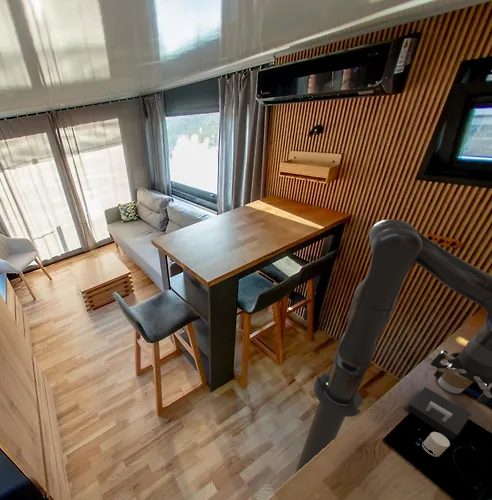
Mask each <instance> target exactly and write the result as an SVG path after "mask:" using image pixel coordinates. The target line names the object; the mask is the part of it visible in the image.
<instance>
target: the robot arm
mask: <svg viewBox="0 0 492 500" xmlns="http://www.w3.org/2000/svg"><path fill="white" fill-rule="evenodd" d="M368 240H369V245H370V248H371V252H372V253H371V259H370V265H369V270H368V272H367V275H366V276H365V278H364V279H363V280H362V281H361V282H360V283H359V284H358V285H357V287H356V288H355V290H354V292H353V296H352V299H351V302H350V307H349V311H348V317H347V321H346V322H347V323H346V329H345V332H343V333H342V335H341V338H340V339H339V341H338V343H337V346H336V352H335V354H334V357H333V360H332V362H331V366H330V369H329V371H328V373H327V372H324V373H323V374H322V375H321V376H320V375H319V376H317V377H316V380H318V382H317V383H318V384H320V385H321V386H322V390H323V391H324V393H325V395H326V396H327V398H328V399H329V400H330V401H332V402H333V403H335V404H337V405H340V406H349V405H351V404H352V402H353V400H354V397H355V395H356V396H357V391H358V392H359V388H360V386H361V384H362V381H363V380H364V377H365V375H366V373H367V371H368V369H369V366H370V364H371V363H372V361H373V359H374V356H375V353H376V350H377V343H376V341H377V340H378V338H379V336H380V334H382V332H383V330H384V329H385V327H386V325H387V324H388V322H389V320H390V318H391V316H392V313H393V312H394V309H395V307H396V304H397V301H398V298H399V296H400V293H401V291H402V288H403V285H404V282H405V279H406V277H407V275H408V274H409V273H410V271H411V269H412V268H413V266H414V265H415V264H416V265H418V266H419V267H420V268H422V269H424V270H425V271H426V272H427V273H429V274H430V275H431V276H432V277H433V278H435V279H436V280H437V281H439V283H441V284H442V285H444V286H445V287H446V288H448V289H450V290H451V291H453V292H455V293H456V294H458V295H460V296H462V297H464V298H465V299H467V300H469V301H471V302H473V303H475V304H477V305H478V306H479V307H481V308H482V309H483V310H484V311H486V315H485V317H484V323H483V326H481V327H480V328H479V330H478V331H477V332H476V334H475V335H474V336H472V338H471V339H469V340H468V342H466V345H465V346H464V347H463V348H462V350H461V351H460V352H459V353H460V354H459V355H458V356H457V357H453V356H451V354H448V350H445V349H441V351H440V352H439V353H438V354H437V355H436V357H434V359H433V360H432V361H431V362H430V365H431V366H432V367H435V368H436V370H435V372H434V374H433V376H434V377H435V379H436V380H439V379H440V377H441V376H442V375H443V373H444V372H449V373H458V374H459V375H460V376H462V377H465V378H467V379H469V380H470V381H472V382H473V384H475V383H476V384H477V385H478V387H479V389H480V390H481V391H482V393H481V394H480V395H479V396H478V398H477V399H476V402H477V403H479V404H481V403H483V404H486V403H487V402H489V401H490V400H491V399H492V275H491V274H489V273H488V272H486V271H485V270H482V269H480V268H478V267H477V266H474V265H473V264H471V263H469V262H467V261H465V260H464V259H462V258H460V257H458V256H456V255H455V254H452V253H451V252H450V251H448V250H446V249H444V248H442V247H441V246H439V245H438V244H436V243H435V242H433V241H432V240H430V239H429V238H428V237H427V236H425V235H424V234H423V233H421V232H420V231H419V230H418V229H416V228H415V226H413V225H412V224H410V223H409V222H407V221H405V220H401V219H396V218H390V219H383V220H380V221H378V222H377V223H375V224H374V225H373V226H372V227H371V228H370V230H369V232H368ZM447 360H451V362H452V363H450V364H446V363H444V364H443V363H441V362H442V361H447Z"/></svg>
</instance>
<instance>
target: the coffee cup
mask: <svg viewBox="0 0 492 500" xmlns="http://www.w3.org/2000/svg"><path fill="white" fill-rule="evenodd" d="M460 353H461V352H453V353H451V354H450V355H451V356H453V357H457V356H458V355H459V354H460ZM450 363H452V362H451V360H446V361H445V364H450ZM437 380H438V379H437ZM437 382H438V385H439V386H440V387H441V388H442V389H444V390H445V391H446V392H449V393H451V394H455V395H457V394H461V393H463V391H465V389H467V388H468V387H469V386H471V385H472V384H474V382H472V381H470V380H469V379H467V378H465V377H462V376H460V375H459V374H458V373H449V372H444V373H443V375H442V376H441V377H440V379H439V380H438V381H437Z"/></svg>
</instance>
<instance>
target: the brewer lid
mask: <svg viewBox="0 0 492 500" xmlns="http://www.w3.org/2000/svg"><path fill="white" fill-rule="evenodd" d="M409 406H411V407H412V408H414V409H415V410H417V411H418V412H420V413H422V414H423V415H425V416H426V417H428V418H429V419H431V420H432V421H434V422H435V423H437V424H439V425H440V426H442V427H443V428H445V429H446V430H448V431H449V432H451V433H452V434H454V435H456V437H457V436H458V435H460V433H461V431H462V430H463V428H464V426H465V425H466V424H467V422H468V421H469V419H470V417H471V416H472V413H471V412H469V411H467V409H464V408H462V407H460V406H459V405H457V404H456V403H454V402H452V401H451V400H449V399H447V398H445V397H443V396H442V395H440V394H438V393H437V392H435V391H433V390H431V389H430V388H428V387H426V386H424V387H423V388H422V389H421V390H420V392H419V393H418V394H417V395H416V397H415V398H414V399H413V400H412V402H410V404H409Z"/></svg>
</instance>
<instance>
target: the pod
mask: <svg viewBox="0 0 492 500" xmlns="http://www.w3.org/2000/svg"><path fill="white" fill-rule="evenodd" d="M423 444H424V445H423ZM421 446H422V449H423V450H424V451H425V452H426V453H427V454H428V455H430V456H432V457H436V458H439V457H440V456H441V455H442V454H443V453H444V452H445V451H446V450H447V449H448V448H449V447H450V446H451V443H450V440H449V439H448V437H447V436H446V435H444V434H443V433H441V432H439V431H438V432H437V431H432V432H430V434H429V435H428V436H427V437H426V438H425V440H424V441H423V442H422V443H421ZM424 446H425V447H426V448H427V449H428V450H431V451H432V452H433V454H432V453H430V452H429V451H428V450H427V449H426V448H425V447H424ZM434 454H435V455H434Z"/></svg>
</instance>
